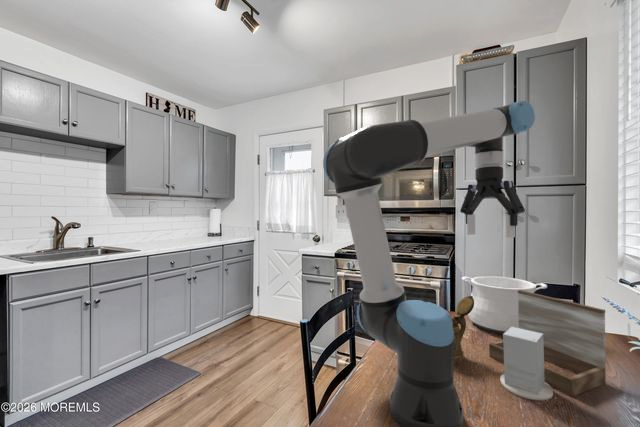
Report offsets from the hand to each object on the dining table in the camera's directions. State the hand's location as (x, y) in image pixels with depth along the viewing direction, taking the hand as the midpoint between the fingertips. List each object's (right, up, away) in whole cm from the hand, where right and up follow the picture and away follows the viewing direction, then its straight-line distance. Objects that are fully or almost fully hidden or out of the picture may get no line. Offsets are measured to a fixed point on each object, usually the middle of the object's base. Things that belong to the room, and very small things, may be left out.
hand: (489, 235), depth 94 cm
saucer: (-1, -37, -18) cm, 41 cm away
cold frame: (+10, -37, -9) cm, 39 cm away
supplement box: (-1, -36, -18) cm, 40 cm away
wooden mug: (-11, -37, 0) cm, 39 cm away
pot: (+18, -37, +23) cm, 47 cm away
